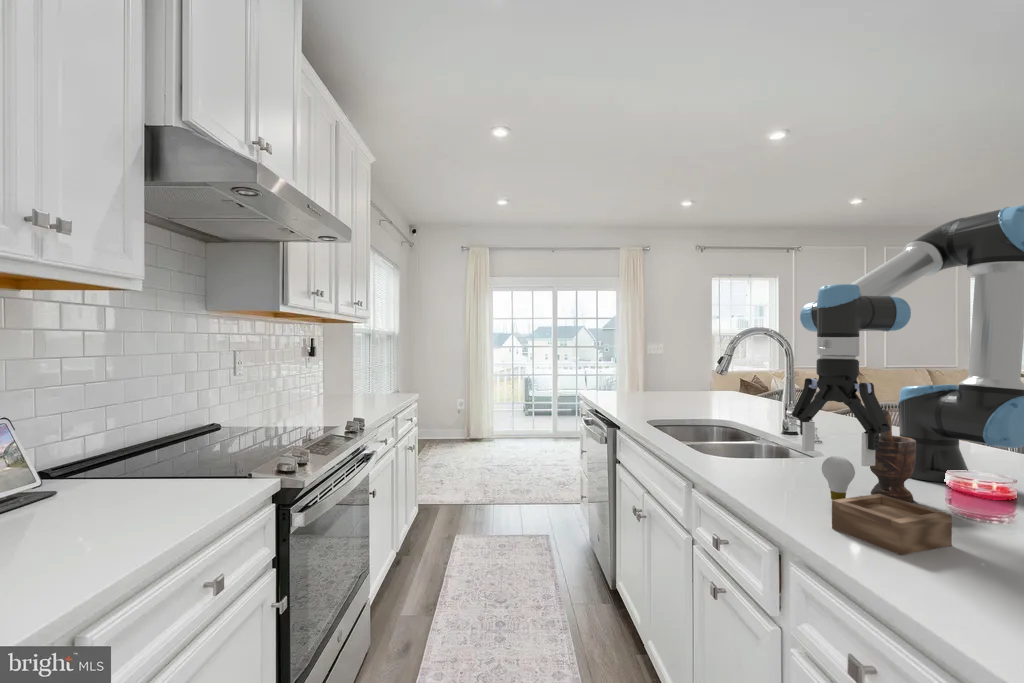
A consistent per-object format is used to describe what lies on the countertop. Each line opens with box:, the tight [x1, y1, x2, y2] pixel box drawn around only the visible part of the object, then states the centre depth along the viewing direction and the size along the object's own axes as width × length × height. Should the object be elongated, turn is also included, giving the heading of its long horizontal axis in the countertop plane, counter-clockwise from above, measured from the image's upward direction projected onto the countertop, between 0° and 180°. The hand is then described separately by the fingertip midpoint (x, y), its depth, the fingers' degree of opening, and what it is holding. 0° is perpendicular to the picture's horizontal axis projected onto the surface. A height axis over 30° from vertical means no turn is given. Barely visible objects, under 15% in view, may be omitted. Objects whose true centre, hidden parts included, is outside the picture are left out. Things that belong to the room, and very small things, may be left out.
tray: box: [831, 494, 953, 556], centre depth 86 cm, size 12×12×5 cm
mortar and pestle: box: [869, 409, 916, 503], centre depth 106 cm, size 12×9×20 cm
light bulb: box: [821, 455, 856, 501], centre depth 104 cm, size 6×6×10 cm
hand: (836, 457), depth 104 cm, fingers open, 13 cm apart
